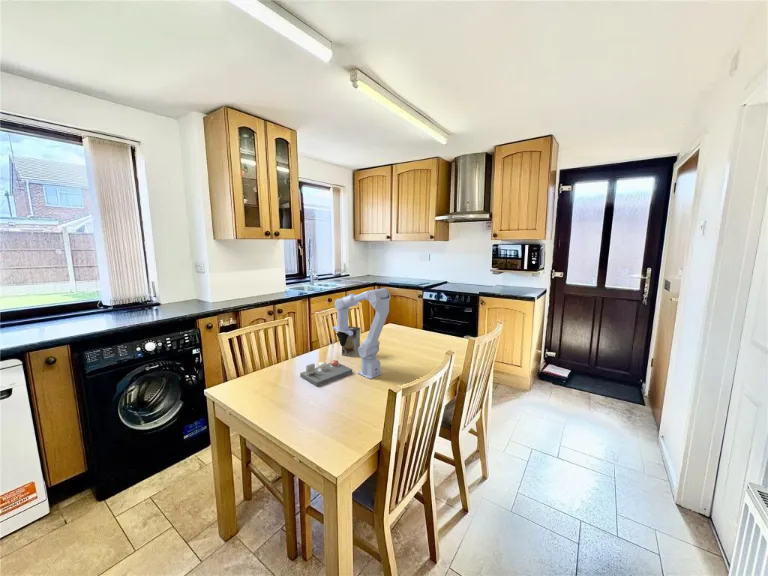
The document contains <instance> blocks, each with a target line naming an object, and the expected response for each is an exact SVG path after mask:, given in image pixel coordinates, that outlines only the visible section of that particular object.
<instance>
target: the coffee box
mask: <svg viewBox="0 0 768 576" xmlns="http://www.w3.org/2000/svg"><path fill="white" fill-rule="evenodd" d="M348 328H349V329H350V330H351V331H353V335H351V336H348V338H347V340H346V344H345V346H341V356H344V357H345V356H346V357H351V358H357V357H358V356H359V353H358V348H359V347H360V346H361V327H358V326H352V325H351V326H350V325H348Z"/></svg>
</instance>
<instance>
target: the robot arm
mask: <svg viewBox="0 0 768 576" xmlns="http://www.w3.org/2000/svg"><path fill="white" fill-rule="evenodd" d="M391 297H392V296H391V294H390V291H389V290H388V289H387V288H385V287H382V288H376V289H369V290H366V291H364V292H361V293H359V294H355V293H349V294H348V295H345V296H343V297H342V298H336V299H335V301H334V307H335V309H336V316H337V317H336V318H337V320H336V323H337V324H336V325H334V326H332V330H333V331H335V332H336V334H335V335H336V336H337V338H338V340H339V345H340V346H341V347H342V346H345V344H346V340H347V338H348V336H351V335H353V331H351V330H350V329H349V328H348V326H349V311H350V308H351V307H354V306H357V305H359V303H360V302H361V301H365V300H366V301H368V302H369V303H370V305H371V306H372V307H373V309H374V311H376V312H375V314H374V317H373V320H372V323H371V326H370V327H369V331H368V334H367V336H366V338H365V339H364V340H363V341H362V343H360V347H359V348H358V353H359V355H358V356H359V357H360V358H361V360H360V361H361V362H360V363H361V365H360V366H361V367H360V368H361V370H360V371H357V374H359V375H360V376H363V377H365V378H367V379H369V380H372V379H374V378H377V377H379V376H381V375H382V372H381V361H380V360H379V359H378V358H377V356H378V353H379V352H380V345H381V343H380V341H379V338H380V336H381V333H382V331H383V328H384V326H385V322H386V320H387V317H388V315H389V313H390V300H391Z"/></svg>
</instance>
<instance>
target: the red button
mask: <svg viewBox="0 0 768 576" xmlns="http://www.w3.org/2000/svg"><path fill="white" fill-rule="evenodd" d="M330 363H331V366H333V367H336V366H338V363H339V360H336V359H333V360H331V361H330Z"/></svg>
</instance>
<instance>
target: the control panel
mask: <svg viewBox="0 0 768 576" xmlns="http://www.w3.org/2000/svg"><path fill="white" fill-rule="evenodd" d="M315 371H316V373H315V374H312V375H309V376H308V375H307V374H305V372H306V370H305V371H303V372H300V373H299V374H300V375H299V377H300V378H301V379H302V380H305V381H306V382H308V383H310V384H312V385H313V386H315V387H316V388H317V387H319V386H322V385H323V386H324V385H325V384H326V383H330V382H333V381H335V380H338V379H341V378H343V377H346V376H348V375H351V374H353V368H350V367H349V366H346V365H345V364H342V363H340V362H338V366H336V367H333V366H331V362H330V363H326V368H323V369H320V368H319V366H317V367H315Z"/></svg>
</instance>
